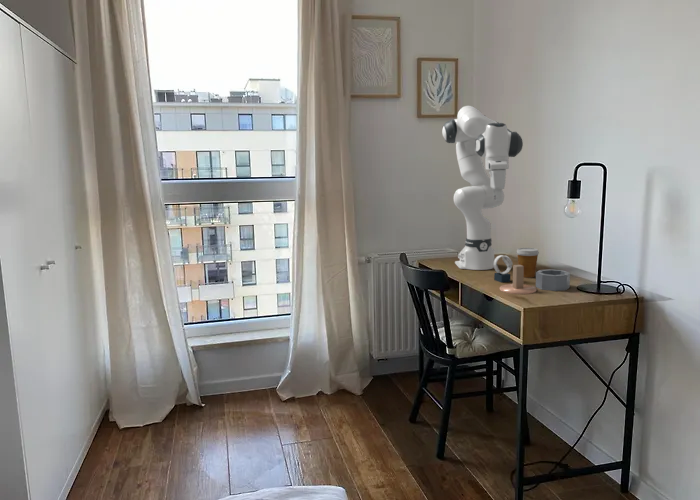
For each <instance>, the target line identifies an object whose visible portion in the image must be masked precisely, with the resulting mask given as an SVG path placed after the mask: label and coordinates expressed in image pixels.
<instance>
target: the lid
mask: <svg viewBox="0 0 700 500" xmlns="http://www.w3.org/2000/svg"><path fill="white" fill-rule="evenodd" d="M524 278H525V277H524V266H522V265H518V264H512V283H508V284H506V283H505V284H502V285H500V286H499V290H500V291H501V292H503V293H505V292H506V294H511V295H513V294H514V295H530V294H535V293H536V292H537V287H536V286H533V285H531V284H525V283H524Z"/></svg>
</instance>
